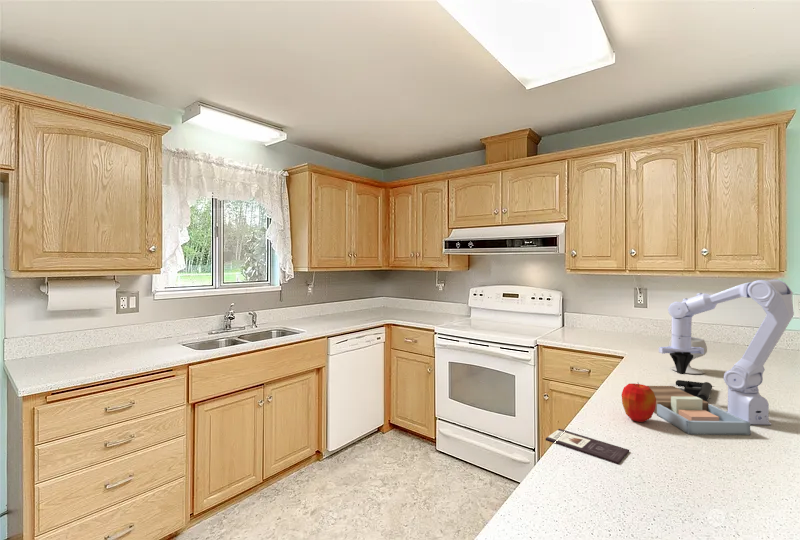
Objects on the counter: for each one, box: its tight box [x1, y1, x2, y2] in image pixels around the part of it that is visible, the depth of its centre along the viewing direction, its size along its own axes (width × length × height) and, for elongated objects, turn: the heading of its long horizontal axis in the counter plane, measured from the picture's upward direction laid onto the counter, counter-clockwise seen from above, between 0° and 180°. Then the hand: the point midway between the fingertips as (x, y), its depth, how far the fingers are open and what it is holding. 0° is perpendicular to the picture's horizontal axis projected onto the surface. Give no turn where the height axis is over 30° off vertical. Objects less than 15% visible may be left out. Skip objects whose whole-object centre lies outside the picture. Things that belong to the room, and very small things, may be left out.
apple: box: [621, 382, 656, 423], centre depth 118 cm, size 9×9×12 cm
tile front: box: [679, 410, 719, 421], centre depth 116 cm, size 6×8×2 cm
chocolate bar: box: [545, 428, 630, 465], centre depth 102 cm, size 9×1×18 cm
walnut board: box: [647, 385, 710, 415], centre depth 131 cm, size 17×16×4 cm
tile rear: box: [671, 396, 702, 414], centre depth 121 cm, size 6×8×2 cm
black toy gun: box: [675, 379, 715, 402], centre depth 145 cm, size 3×20×16 cm
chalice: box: [668, 336, 708, 375], centre depth 174 cm, size 14×14×15 cm
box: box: [656, 404, 751, 436], centre depth 115 cm, size 14×17×4 cm
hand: (681, 373), depth 136 cm, fingers closed
